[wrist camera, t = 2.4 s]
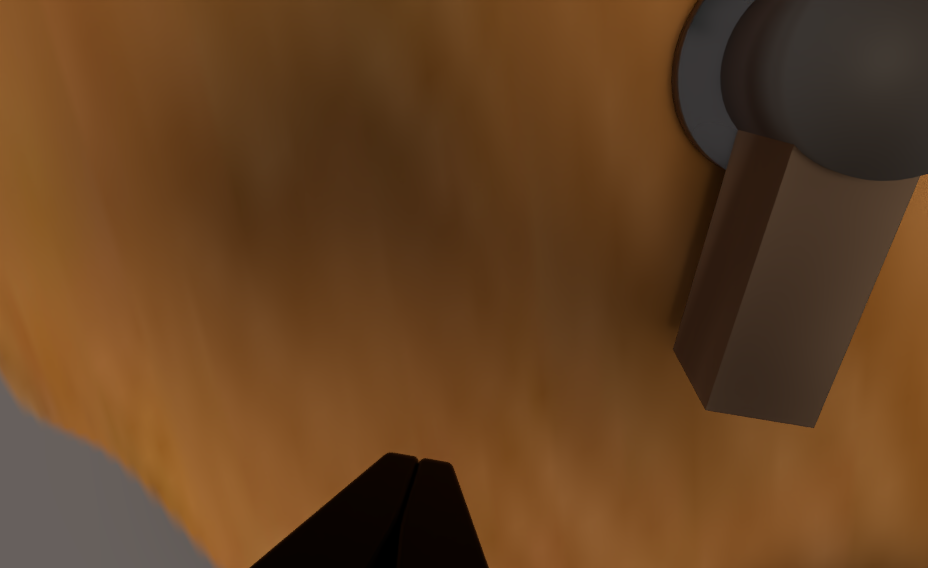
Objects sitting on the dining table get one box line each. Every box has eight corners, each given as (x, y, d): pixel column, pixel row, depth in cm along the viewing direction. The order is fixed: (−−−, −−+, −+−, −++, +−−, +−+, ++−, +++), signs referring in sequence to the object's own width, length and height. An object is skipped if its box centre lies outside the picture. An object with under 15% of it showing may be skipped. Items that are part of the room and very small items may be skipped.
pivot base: (957, -50, 13) (981, -57, 12) (862, 193, 15) (878, 199, 14) (707, -81, 13) (716, -89, 12) (647, 162, 15) (652, 166, 14)
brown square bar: (1137, -533, 9) (1476, -868, 6) (790, 367, 15) (862, 447, 12) (888, -554, 9) (1084, -890, 6) (643, 343, 16) (675, 417, 12)
